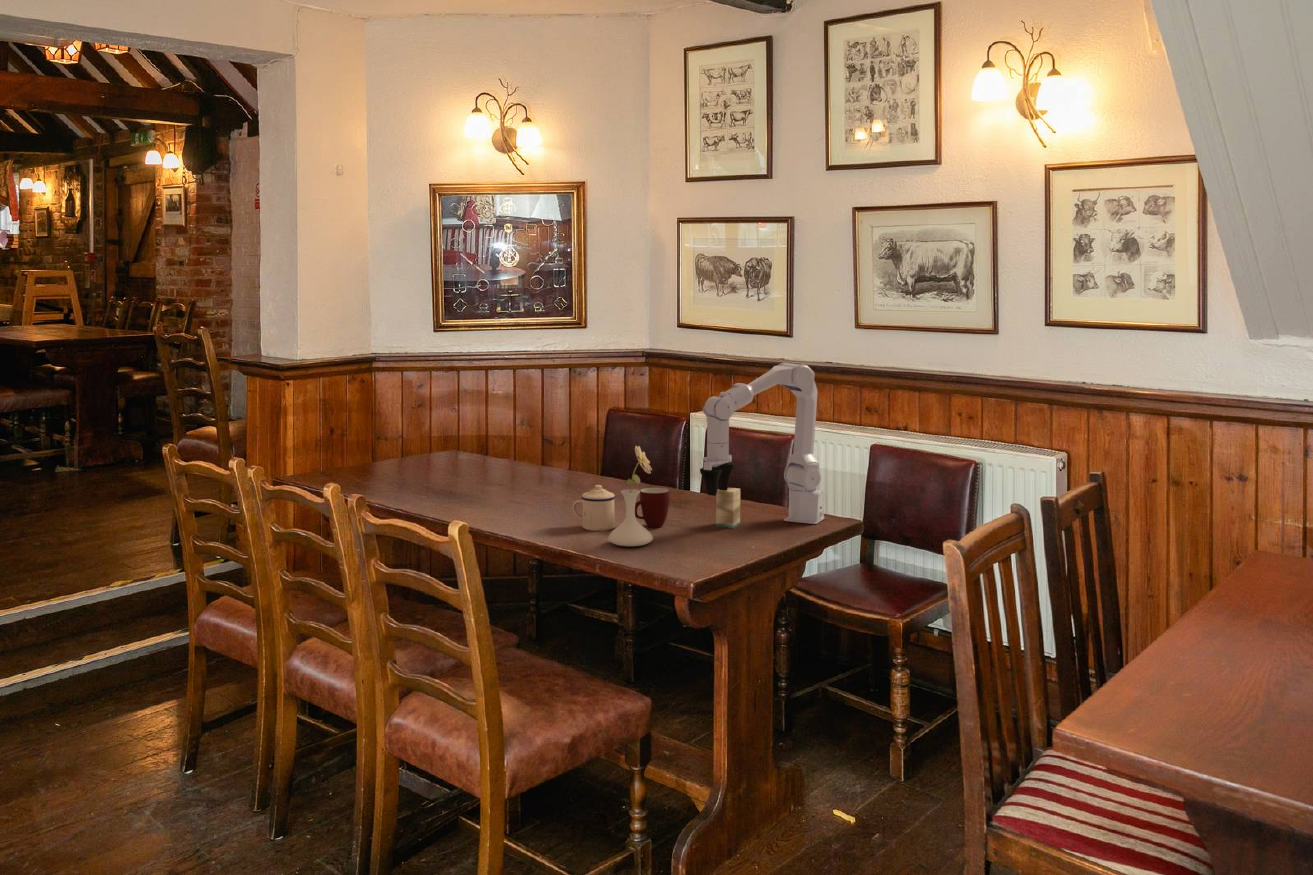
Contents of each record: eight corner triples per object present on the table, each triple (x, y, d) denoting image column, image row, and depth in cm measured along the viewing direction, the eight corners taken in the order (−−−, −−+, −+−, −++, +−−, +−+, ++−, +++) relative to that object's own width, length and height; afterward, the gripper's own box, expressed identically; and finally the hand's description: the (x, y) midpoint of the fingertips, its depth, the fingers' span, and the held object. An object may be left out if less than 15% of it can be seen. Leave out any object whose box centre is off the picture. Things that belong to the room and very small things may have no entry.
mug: (643, 532, 290) (643, 495, 289) (626, 526, 297) (626, 490, 295) (675, 527, 296) (675, 491, 295) (658, 521, 303) (658, 486, 302)
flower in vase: (637, 552, 270) (636, 452, 266) (599, 546, 276) (598, 448, 272) (664, 541, 281) (664, 445, 277) (627, 536, 286) (627, 441, 283)
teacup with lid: (619, 525, 299) (619, 483, 297) (608, 532, 290) (608, 489, 289) (579, 522, 303) (578, 481, 301) (566, 529, 294) (566, 487, 292)
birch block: (739, 524, 300) (740, 488, 298) (733, 528, 295) (733, 491, 294) (723, 522, 302) (723, 487, 301) (716, 526, 298) (716, 490, 296)
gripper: (714, 437, 297) (714, 486, 299) (692, 444, 284) (692, 496, 286) (738, 439, 294) (738, 488, 296) (718, 446, 281) (717, 498, 283)
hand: (717, 492), depth 291 cm, fingers open, 7 cm apart
